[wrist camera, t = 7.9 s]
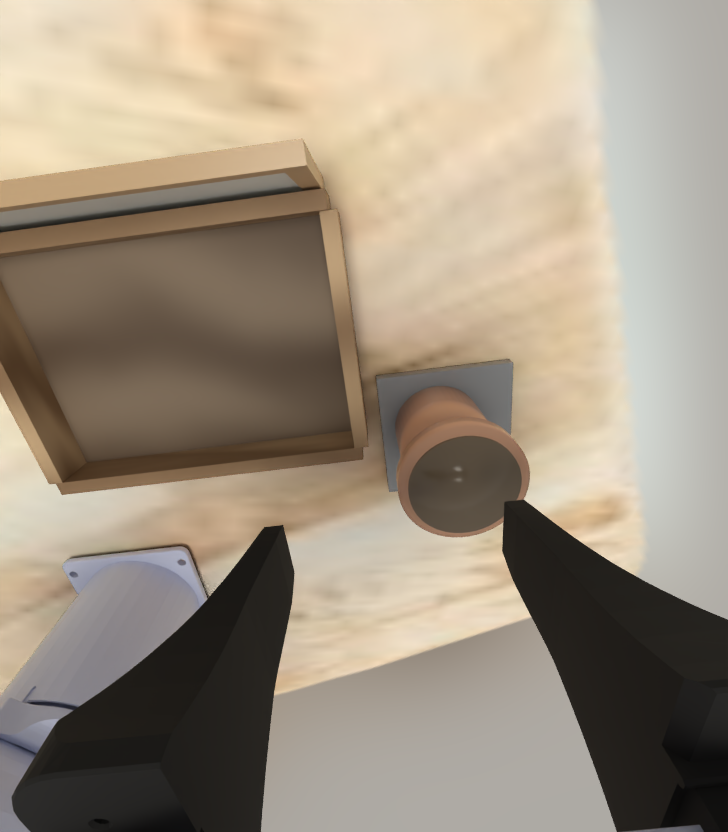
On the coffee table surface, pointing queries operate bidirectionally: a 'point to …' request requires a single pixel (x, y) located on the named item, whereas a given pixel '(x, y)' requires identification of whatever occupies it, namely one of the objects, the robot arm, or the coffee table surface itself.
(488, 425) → the pot
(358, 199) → the coffee table surface
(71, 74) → the coffee table surface
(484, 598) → the coffee table surface
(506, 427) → the tile
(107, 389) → the cold frame
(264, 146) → the lid
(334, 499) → the coffee table surface
